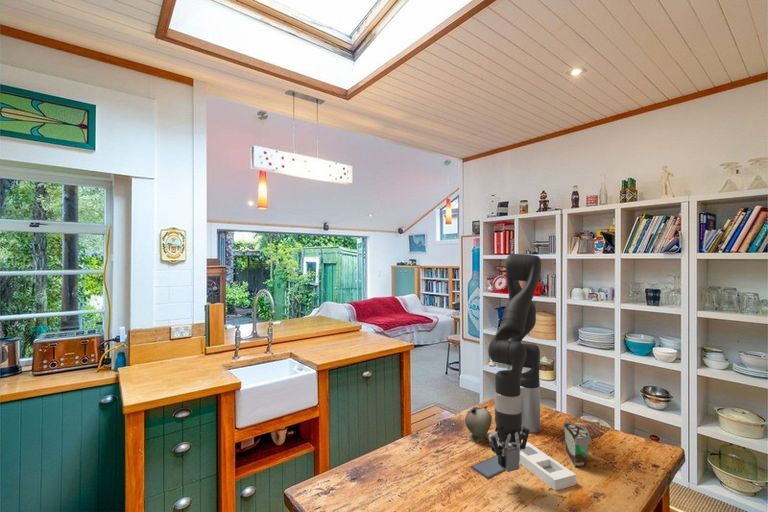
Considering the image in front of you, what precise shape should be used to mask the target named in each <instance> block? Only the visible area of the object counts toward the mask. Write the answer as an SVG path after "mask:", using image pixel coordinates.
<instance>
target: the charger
mask: <svg viewBox="0 0 768 512" xmlns="http://www.w3.org/2000/svg"><path fill="white" fill-rule="evenodd" d="M501 450H502V447H501ZM505 456H506V468H504V469H505V470H506V471H505V472H507V473H511V472H514V471H517V470H520V463H519V449H518V448H516V447H515V445H513V444H511V443H509V445H508V449H506V454H505Z"/></svg>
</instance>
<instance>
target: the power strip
mask: <svg viewBox="0 0 768 512" xmlns="http://www.w3.org/2000/svg"><path fill="white" fill-rule="evenodd" d="M522 441H523V440H522ZM521 443H522V442H521ZM519 465H522V466H523V467H524V468H525V469H527V470H528V471H529V472H530V473H532V474H533V475H535V477H537V478H538V479H540V480H541V481H542V482H544V484H546V485H547V486H548V487H550V489H552V490H554V491H555V492H557V491H558V490H562V489H566V488H569V487H573V486H576V485H577V474H576V473H575V472H573V471H572V470H570V469H569V468H567V467H566V466H565V465H563V464H561V463H560V462H558V461H556V460H555V458H552V457H551V456H549V455H548V454H547V453H546V452H544V451H542V450H541V449H539V448H538V447H536V446H534V445H533V444H531V443H530V442H529V441H527V443H526V447H525V449H522V450H521V451H520V461H519Z"/></svg>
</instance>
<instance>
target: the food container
mask: <svg viewBox="0 0 768 512" xmlns="http://www.w3.org/2000/svg"><path fill="white" fill-rule="evenodd" d="M563 427H564V443H565V446H564V449H565V453H566V455H567V456H568V459H569V460H570V462H571V463H572V465H573V467H574V468H576V469H579V468H580V469H581V468H585V467H587V465H588V460H589V459H588V456H589V444H590V443H591V442H592V438H591V434H590V432H589V430H588V429H587V428H586V427H584V426H582V425H580V424H577V423H574V422H571V421H570V422H568V421H564V422H563Z"/></svg>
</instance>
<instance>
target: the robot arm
mask: <svg viewBox="0 0 768 512" xmlns="http://www.w3.org/2000/svg"><path fill="white" fill-rule="evenodd" d="M541 273H542V260H541V258H540V256H538V255H535V254H522V253H511V254H509V255H508V256H507V257H506V260H505V275H506V276H505V277H506V282H507V289H508V302H507V303H506V305H505V307H504V309H503V313H502V317H501V322H500V326H499V327H498V328H497V331H496V332H495V335H494V336H493V338H492V339H491V341H490V343H489V345H488V356H489V359H490V361H492V362H493V363H497V364H503V365H506V366H507V365H508V366H511V369H503V370H502V369H501V370H498V371H497V372H496V373H495V375H494V376H495V378H494V381H495V394H494V422H495V425H496V427H495V429H494V432H492V433H490V432H487V434H486V436H487V437H488V438H487V440H488V442H489V446H490V450H491V451H492V452H493V453H494V454H495V456H496V455H497V456H498V464H499V465H500V466H501V467H502V468H503V469H504V468H506V456H505V454H506V449H508V445H509V443H511V444H513V445H515V447H516V448H518V449H519V461H520V451H521V450H522V449H525V447H526V443H527V442H528V439H529V434H537V433H539V432H541V389H540V388H541V386H540V384H541V383H540V368H541V367H540V364H541V363H540V362H541V352H540V351H541V350H540V348H539V345H538V344H532V343H522V341H523V339H524V338H525V337H526V336H528V334H529V333H531V331H532V330H533V329H534V327H535V326H536V322H537V314H536V313H537V309H536V306H535V304H534V301H533V298H534V295H535V293H536V289H537V286H538V284H539V280H540V277H541ZM520 281H521V282H525V284H524V286H523V288H522V286H521V284H520ZM523 368H527V369H528V368H529V370H527V371H526V372H525V371H524V372H523ZM522 440H523V441H522ZM521 442H522V443H521ZM501 447H502V450H501Z"/></svg>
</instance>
